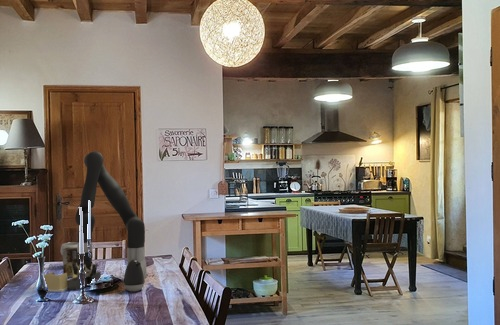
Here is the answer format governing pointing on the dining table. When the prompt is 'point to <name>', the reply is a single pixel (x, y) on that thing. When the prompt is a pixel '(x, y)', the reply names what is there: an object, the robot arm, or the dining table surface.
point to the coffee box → (69, 260)
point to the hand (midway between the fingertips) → (84, 283)
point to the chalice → (66, 245)
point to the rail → (75, 282)
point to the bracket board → (57, 281)
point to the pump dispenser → (134, 276)
